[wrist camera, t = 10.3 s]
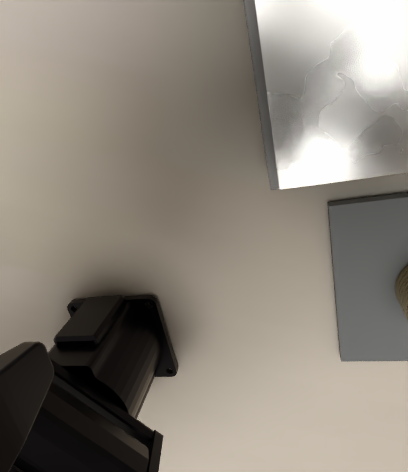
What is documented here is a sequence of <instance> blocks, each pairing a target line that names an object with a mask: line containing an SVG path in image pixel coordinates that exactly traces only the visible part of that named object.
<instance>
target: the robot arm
mask: <svg viewBox="0 0 408 472" xmlns="http://www.w3.org/2000/svg"><path fill="white" fill-rule="evenodd" d="M148 302H150V303H152V305H150V304H149V303H148ZM74 306H75V307H76V308H75V307H74ZM67 308H68V311H69V314H70V316H71V318H70V320H69V321H68V322H67V323H66V324H65V325H64V327H63V328H62V329H61V330H60V331H59V333H58V334H57V335H56V336H55V338H54V342H55V345H54V346H53V347H52V349H51V350H50V351H49V352H47V350H46V347H45V345H44V344H43V343H41V342H24V343H22V344H20V345H18V346H16V347H14V348H12V349H11V350H9V351H7V352H5V353H3V354H1V355H0V472H158V470H159V463H160V456H161V448H162V441H163V435H162V434H160V433H159V432H157V431H156V430H154V431H153V430H151V429H150V428H149V427H147V426H146V425H144V424H143V423H142V422H140V421H139V420H137V417H138V414H139V412H140V410H141V407H142V405H143V403H144V400H145V398H146V396H147V393H148V391H149V389H150V386H151V384H152V382H153V379H154V377H172V376H175V375H176V373H177V371H178V365H177V362H176V359H175V355H174V352H173V349H172V345H171V342H170V339H169V335H168V332H167V329H166V325H165V322H164V319H163V315H162V312H161V309H160V305H159V302H158V300H157V298H156V297H154V296H152V295H141V296H125V297H123V296H105V297H89V298H87V299H77V300H72V301H71V302H70V303H69V304H68V306H67ZM169 368H170V369H169ZM171 369H172V370H171Z"/></svg>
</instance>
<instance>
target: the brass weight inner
mask: <svg viewBox="0 0 408 472" xmlns="http://www.w3.org/2000/svg"><path fill="white" fill-rule="evenodd" d="M395 294H396V298H397V300H398V302H399V304H400V306H401V308H402V310H403V312H404V314H405V316H406V318H407V321H408V264H407V265H406V266H405V267H404V268H403V269H402V271H401V272H400V274H399V275H398V277H397V279H396V283H395Z"/></svg>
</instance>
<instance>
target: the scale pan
mask: <svg viewBox="0 0 408 472" xmlns="http://www.w3.org/2000/svg"><path fill="white" fill-rule="evenodd" d="M255 6H256V13H257V21H258V28H259V36H260V44H261V51H262V59H263V66H264V74H265V81H266V89H267V97H268V104H269V112H270V119H271V127H272V135H273V142H274V150H275V157H276V165H277V173H278V180H279V188H280V190H281V189H288V188H296V187H303V186H311V185H318V184H326V183H333V182H341V181H349V180H356V179H364V178H371V177H379V176H386V175H394V174H401V173H408V0H255Z"/></svg>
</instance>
